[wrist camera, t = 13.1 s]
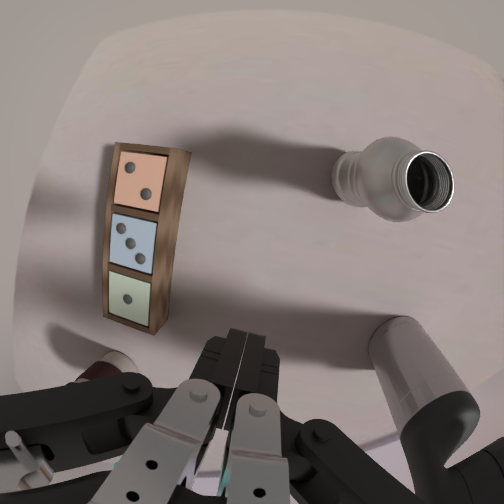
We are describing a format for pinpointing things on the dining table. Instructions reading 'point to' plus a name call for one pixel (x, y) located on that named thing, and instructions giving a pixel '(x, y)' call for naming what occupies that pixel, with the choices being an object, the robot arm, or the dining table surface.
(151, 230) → the button three
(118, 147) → the dice tray set
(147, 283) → the button one
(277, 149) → the dining table surface
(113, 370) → the coffee cup
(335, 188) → the plastic bottle
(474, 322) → the dining table surface
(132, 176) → the button two
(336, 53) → the dining table surface
